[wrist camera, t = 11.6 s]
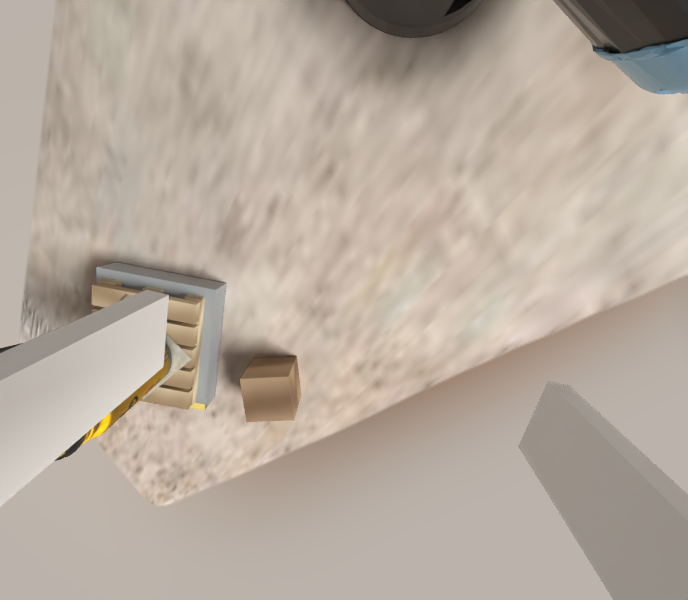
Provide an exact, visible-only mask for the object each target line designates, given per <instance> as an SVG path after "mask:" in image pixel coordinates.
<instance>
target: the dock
mask: <svg viewBox="0 0 688 600" xmlns="http://www.w3.org/2000/svg"><path fill="white" fill-rule="evenodd" d="M103 279H111V280H116V281H121V282H122V287H124V288H129V289H135V290H140V291H142V289H143V288H145V287H153V288H158V289H163V294H168V295H169V296H171V297H176V298H182V299H184V297H185V296H187V295H194V296H200V297H205V301H204V313H203V325H202V337H201V350H200V362H199V374H198V386H197V398H196V402H195V403H194V404H193V405H192V406H190V408H193V409H199V410H205V409H206V408H207V406H208V405H209V404H210V402H211V401H212V400H213V398H214V397H215V392H216V382H217V372H218V362H219V352H220V342H221V332H222V322H223V312H224V302H225V292H226V283H222V282H217V281H212V280H207V279H202V278H196V277H191V276H186V275H181V274H176V273H170V272H165V271H160V270H155V269H150V268H144V267H139V266H134V265H129V264H124V263H118V262H115V263H111V264H107V265H103V266H99V267H96V284H97V283H99V281H100V280H103ZM97 307H98V306H97Z"/></svg>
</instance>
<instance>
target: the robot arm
mask: <svg viewBox="0 0 688 600" xmlns="http://www.w3.org/2000/svg"><path fill="white" fill-rule="evenodd" d="M347 1H348V3H349V4H350V6H351V7H352V8H353V9H354V10H355V11H356V13H357V14H358V15H359V16H360V17H362V18H363V19H364V20H365V21H366V22H368V23H369V24H370V25H372V26H373V27H375V28H377V29H379V30H381V31H383V32H385V33H388V34H391V35H395V36H399V37H407V38H418V37H426V36H431V35H434V34H437V33H440V32H443V31H445V30H447V29H449V28H451V27H453V26H455V25H456V24H458V23H459V22H461V21H462V20H463V19H465V18H466V17H467V16H468V15H469V14H471V13H472V12H473V11H474V10H475V9H476V8H477V7H478V5H479V4H480V3H481V2H482V1H483V0H347ZM553 1H554V2H555V3H556V4H557V5H558V6H559V7H560V9H561V10H562V11H563V12H564V13H565V14H566V15H567V16H568V17H569V19H570V20H571V21H572V22H573V23H574V24H575V25H576V26H577V27H578V28H579V30H580V31H581V32H582V33H583V34H584V35H585V36H586V37H587V38H588V40H589V41H590V42H591V44H592V46H593V51H594V52H595V53H596V54H597V55H598V56H599V57H601V58H604V59H606V60H611V61H612V62H613V63H614V64H615V65H616V66H617V67H618V68H619V69H620V70H621V71H623V72H624V73H625V74H626V75H627V76H628V77H629V78H630V79H631V80H632V81H633V82H634V83H635V84H636V85H638V86H639V87H640V88H642V89H644V90H646V91H649V92H652V93H656V94H676V93H682V94H688V0H553ZM168 301H169V295H168V294H163V293H159V292H154V291H150V290H145V291H142V292H140V293H138V294H135V295H133V296H131V297H129V298H126V299H124V300H122V301H119V302H117V303H115V304H112V305H110V306H108V307H105V308H103V309H101V310H99V311H96V312H94V313H92V314H89V315H87V316H85V317H82V318H80V319H78V320H76V321H73V322H71V323H69V324H66V325H64V326H62V327H59V328H57V329H55V330H52V331H50V332H48V333H46V334H43V335H41V336H39V337H36V338H34V339H32V340H29V341H27V342H25V343H21V344H17V345H13V346H9V347H4V348H0V507H1V506H2V505H3V504H4V503H5V502H7V501H8V500H9V499H10V498H11V497H12V496H14V495H15V494H16V493H17V492H18V491H19V490H21V489H22V488H23V487H24V486H25V485H26V484H27V483H29V482H30V481H31V480H32V479H33V478H34V477H36V476H37V475H38V474H39V473H40V472H42V470H44V469H45V468H46V467H47V466H48V465H50V464H51V463H52V462H53V461H54V460H55V459H57V458H58V457H59V456H60V455H61V454H62V453H64V452H65V451H66V450H67V449H68V448H69V447H71V446H72V445H73V444H74V443H75V442H76V441H78V440H79V439H80V438H81V437H82V436H83V435H85V434H86V433H87V432H88V431H89V430H90V429H92V428H93V427H94V426H95V425H96V424H97V423H99V422H100V421H101V420H102V419H103V418H104V417H106V416H107V415H108V414H109V413H110V412H111V411H113V410H114V409H115V408H116V407H117V406H118V405H120V404H121V403H122V402H123V401H124V400H125V399H127V398H128V397H129V396H130V395H131V394H132V393H134V392H135V391H136V390H137V389H138V388H139V387H141V386H142V385H143V384H144V383H145V382H146V381H148V380H149V379H150V378H151V377H152V376H153V375H155V374H156V373H157V372H158V371H159V370H160V369H162V368H163V366H164V353H165V340H166V327H167V314H168ZM519 448H520V450H521V451H522V453H523V455H524V456H525V458H526V459H527V461H528V463H529V464H530V466H531V468H532V469H533V471H534V472H535V474H536V475H537V477H538V479H539V480H540V482H541V484H542V485H543V487H544V488H545V490H546V492H547V493H548V495H549V497H550V498H551V500H552V501H553V503H554V505H555V506H556V508H557V509H558V511H559V513H560V514H561V516H562V518H563V519H564V520H565V522H566V524H567V526H568V527H569V529H570V530H571V532H572V534H573V535H574V537H575V538H576V540H577V542H578V543H579V545H580V547H581V548H582V550H583V551H584V553H585V555H586V556H587V558H588V560H589V561H590V563H591V564H592V566H593V567H594V569H595V571H596V572H597V574H598V576H599V577H600V579H601V580H602V582H603V584H604V585H605V587H606V589H607V590H608V592H609V593H610V595H611V597H612V598H613V600H688V494H687V493H686V492H685V491H683V490H682V489H681V488H680V487H679V486H678V485H677V484H676V483H675V482H674V481H673V480H671V479H670V478H669V477H668V476H667V475H666V474H665V473H664V472H663V471H662V470H661V469H660V468H658V467H657V466H656V465H655V464H654V463H653V462H652V461H651V460H650V459H649V458H648V457H646V456H645V455H644V454H643V453H642V452H641V451H640V450H639V449H638V448H637V447H636V446H634V445H633V444H632V443H631V442H630V441H629V440H628V439H627V438H626V437H625V436H623V434H621V433H620V432H619V431H618V430H617V429H616V428H615V427H614V426H613V425H612V424H611V423H609V422H608V421H607V420H606V419H605V418H604V417H603V416H602V415H601V414H600V413H599V412H598V411H596V410H595V409H594V408H593V407H592V406H591V405H590V404H589V403H588V402H587V401H586V400H585V399H583V398H582V397H581V396H580V395H579V394H578V393H577V392H576V391H575V390H574V389H573V388H572V387H570V386H568V385H564V384H560V383H555V382H551V381H548V382H547V384H546V386H545V389H544V391H543V393H542V395H541V397H540V400H539V402H538V404H537V406H536V409H535V411H534V413H533V415H532V418H531V420H530V422H529V424H528V427H527V429H526V431H525V433H524V435H523V438H522V440H521V442H520V445H519Z"/></svg>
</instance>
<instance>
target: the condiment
mask: <svg viewBox="0 0 688 600" xmlns="http://www.w3.org/2000/svg"><path fill="white" fill-rule="evenodd" d="M126 298H129V297H128V296H126V297H125V298H124V299H126ZM124 299H123V300H124ZM190 360H191V358H190V357H189V356H188V355H187V354H186V353H185V352H184V351H183V350H182V349H181V348H180V347H179V346H178V345H177V344H176V343H175V342H174V341H173V340H172V339H171V338H170V336H168V335H167V334H166V340H165V353H164V366H163V368H162V369H160V370H159V371H158V372H157V373H156V374H155V375H153V376H152V377H151V378H150V379H149V380H148V381H146V382H145V383H144V384H143V385H142V386H141V387H139V388H138V389H137V390H136V391H135V392H134V393H132V394H131V395H130V396H129V397H128V398H127V399H125V400H124V401H123V402H122V403H121V404H120V405H118V406H117V407H116V408H115V409H114V410H113V411H111V412H110V413H109V414H108V415H107V416H106V417H104V418H103V419H102V420H101V421H100V422H99V423H97V424H96V425H95V426H94V427H93V428H92V429H90V430H89V431H88V432H87V433H86V434H85V435H83V436H82V437H81V438H80V439H79V440H78V441H76V442H75V443H74V444H73V445H72V446H71V447H69V448H68V449H67V450H66V451H65V452H64V453H62V454H61V455H60V456H59V457H58V458H57V459H55V460H60V459H62V458H64V457H68V456H70V455H71V454H72V453H74V452H75V451H76V450H77V449H78V448H79V447H80V446H81V445H82V444H84V443H85V442H87V441H88V440H90V439H92V438H95V437H97V436H99V435H101V434H102V433H104V432H105V431H106V430H107V429H108V428H109V427H111V426H112V425H113V424H114V423H115V422H116V421H117V420H118V419H119V418H120V417H121V416H123V415H124V414H125V413H126V412H127V411H128V410H129V409H130V408H131V407H132V406H133V405H134V404H136V403H137V402H138V401H139V400H140V399H141V398H143V400H144V399H145V398H146V397H147V396H148V395H150V394H151V393H152V392H153V391H154V390H156V389H157V388H158V387H159V386H160V385H162V384H163V383H164V382H165V381H166V380H167V379H169V378H170V377H171V376H172V375H173V374H175V373H176V372H177V371H178V370H180V369H181V368H182V367H183V366H184V365H186V364H187V363H188V362H189V361H190ZM55 460H54V461H55Z"/></svg>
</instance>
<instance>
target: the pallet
mask: <svg viewBox="0 0 688 600" xmlns="http://www.w3.org/2000/svg"><path fill="white" fill-rule="evenodd" d="M145 290H150V291H154V292H159V293H163V289H158V288H153V287H145V288H143V289H142V291H145ZM142 291H140V290H135V289H129V288H124V287H122V282H121V281H116V280H111V279H103V280H100V281H99V283H97V284H93V285H92V305H95V306H98V307H95V308H93V309H92V313H94V312H96V311H99V310H101V309H103V308H105V307H108V306H110V305H112V304H115V303H117V302H119V301H122V300H123V299H124V298H125V297H126V296H128V297H131V296H133V295H135V294H138V293H140V292H142ZM204 301H205V297H200V296H194V295H187V296H185V297H184V299H182V298H176V297H171V296H169V301H168V314H167V327H166V334H167V335H168V336H170V338H171V339H172V340H173V341H174V342H175V343H176V344H177V345H178V346H179V347H180V348H181V349H182V350H183V351H184V352H185V353H186V354H187V355H188V356H189V357H190V358H191V360H190V361H189V362H188V363H187V364H186V365H184V366H183V367H182V368H181V369H180V370H178V371H177V372H176V373H175V374H173V375H172V376H171V377H170V378H169V379H167V380H166V381H165V382H164V383H163V384H162V385H160V386H159V387H158V388H157V389H156V390H154V391H153V392H152V393H151V394H150V395H148V396H147V397H146V398H145V399H144V400H143V398H141V399H140V400H139V401H144V402H150V403H155V404H160V405H166V406H171V407H176V408H182V409H187V410H188V409H189V408H190V406H192V405H193V404H194V403H195V402H196V398H197V386H198V374H199V362H200V350H201V337H202V325H203V313H204Z"/></svg>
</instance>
